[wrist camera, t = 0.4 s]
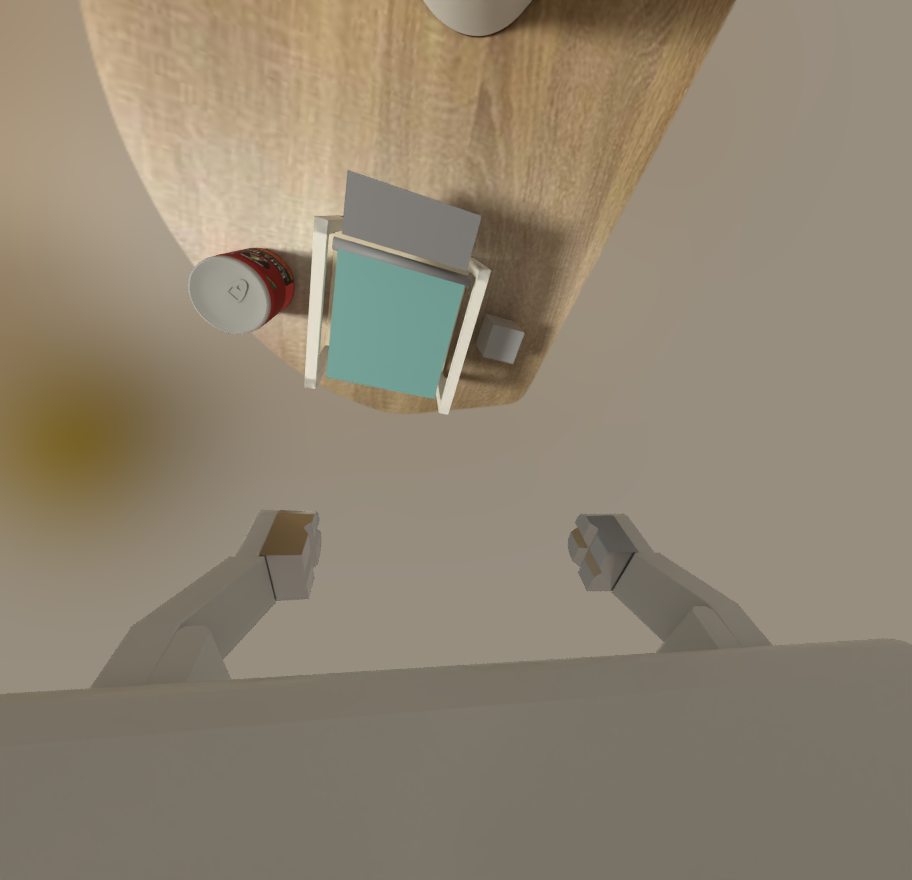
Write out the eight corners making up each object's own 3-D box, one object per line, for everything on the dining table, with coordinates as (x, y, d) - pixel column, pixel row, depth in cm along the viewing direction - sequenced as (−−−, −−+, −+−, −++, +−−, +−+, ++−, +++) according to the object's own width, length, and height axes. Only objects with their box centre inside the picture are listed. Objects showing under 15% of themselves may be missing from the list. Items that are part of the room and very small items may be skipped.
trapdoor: (344, 171, 33) (335, 165, 29) (482, 218, 36) (491, 219, 32) (326, 367, 43) (318, 382, 39) (436, 390, 46) (439, 406, 42)
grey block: (485, 313, 51) (493, 324, 46) (513, 321, 52) (524, 332, 47) (475, 343, 53) (482, 356, 48) (503, 350, 55) (513, 364, 50)
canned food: (305, 270, 46) (279, 285, 36) (283, 323, 49) (254, 348, 40) (243, 232, 43) (198, 237, 33) (224, 291, 46) (178, 310, 37)
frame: (337, 215, 43) (314, 216, 32) (473, 257, 47) (491, 270, 37) (325, 351, 52) (304, 387, 41) (440, 376, 56) (448, 414, 45)
